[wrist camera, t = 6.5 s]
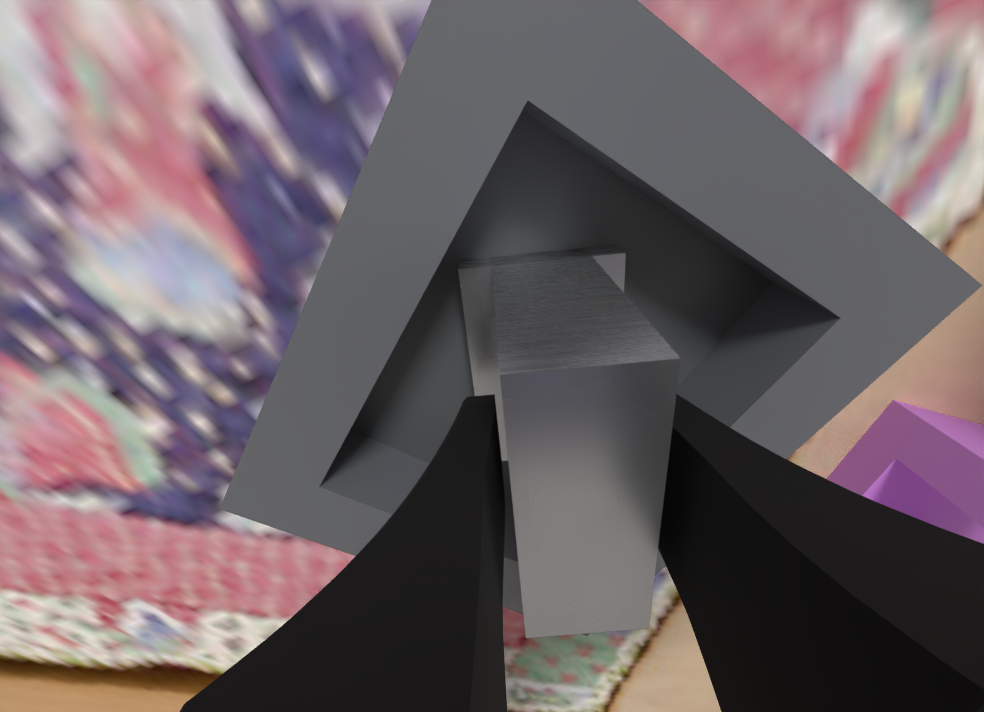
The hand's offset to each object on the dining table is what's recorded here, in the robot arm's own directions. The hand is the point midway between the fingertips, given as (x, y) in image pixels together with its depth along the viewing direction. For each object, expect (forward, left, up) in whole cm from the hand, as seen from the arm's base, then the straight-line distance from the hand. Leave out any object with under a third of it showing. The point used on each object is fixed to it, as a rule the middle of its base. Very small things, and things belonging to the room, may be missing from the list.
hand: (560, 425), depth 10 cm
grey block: (0, 0, -3) cm, 3 cm away
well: (0, 0, -4) cm, 4 cm away
